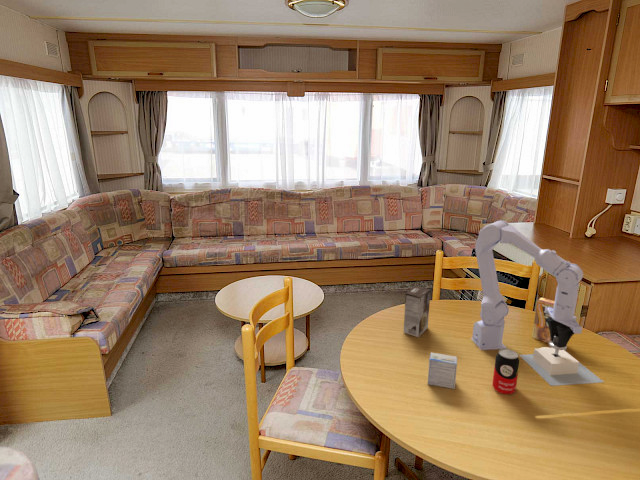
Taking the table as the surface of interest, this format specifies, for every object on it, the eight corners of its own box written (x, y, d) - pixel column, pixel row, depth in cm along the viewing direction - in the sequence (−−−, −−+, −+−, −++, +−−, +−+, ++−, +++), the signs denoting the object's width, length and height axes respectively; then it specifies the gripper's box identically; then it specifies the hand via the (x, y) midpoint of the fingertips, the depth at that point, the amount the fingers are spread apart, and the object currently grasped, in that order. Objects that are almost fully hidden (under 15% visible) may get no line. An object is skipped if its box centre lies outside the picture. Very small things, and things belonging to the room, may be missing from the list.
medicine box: (455, 381, 126) (457, 356, 123) (454, 390, 122) (457, 364, 119) (428, 376, 128) (430, 351, 126) (427, 384, 124) (429, 359, 122)
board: (550, 387, 123) (551, 385, 122) (518, 356, 139) (518, 355, 139) (603, 383, 124) (604, 382, 124) (565, 353, 141) (566, 352, 140)
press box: (549, 375, 128) (551, 363, 126) (529, 356, 138) (531, 346, 137) (577, 373, 128) (579, 362, 127) (555, 355, 139) (556, 344, 138)
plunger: (553, 363, 129) (557, 340, 127) (543, 354, 134) (546, 332, 132) (568, 362, 129) (572, 339, 127) (557, 353, 134) (561, 331, 132)
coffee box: (412, 323, 162) (415, 285, 158) (428, 328, 158) (431, 288, 154) (402, 332, 155) (404, 292, 151) (418, 337, 151) (421, 296, 147)
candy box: (561, 343, 147) (568, 304, 143) (557, 348, 144) (564, 307, 140) (535, 335, 153) (541, 296, 149) (531, 339, 150) (537, 300, 146)
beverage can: (487, 386, 123) (491, 350, 120) (503, 381, 126) (507, 345, 122) (503, 398, 118) (509, 361, 114) (520, 393, 120) (525, 356, 117)
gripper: (594, 313, 120) (586, 354, 124) (561, 293, 134) (555, 331, 137) (572, 314, 119) (564, 356, 123) (541, 294, 133) (535, 332, 137)
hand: (558, 343), depth 130 cm, fingers closed on plunger, 3 cm apart
